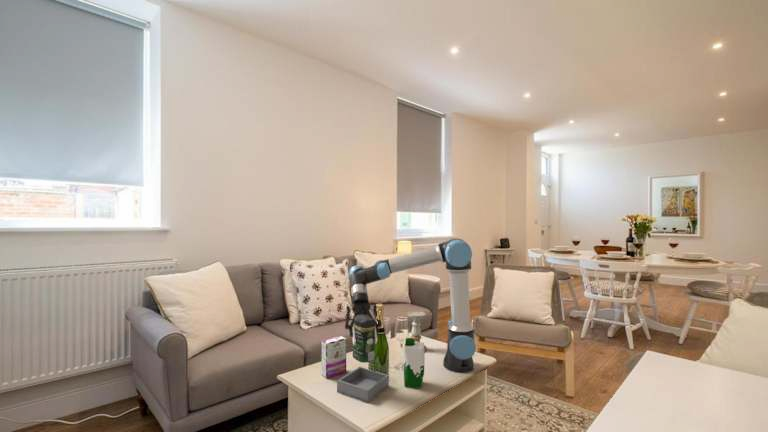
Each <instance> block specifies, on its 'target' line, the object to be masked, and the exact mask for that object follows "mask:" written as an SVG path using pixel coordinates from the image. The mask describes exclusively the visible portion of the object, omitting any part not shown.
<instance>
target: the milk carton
mask: <svg viewBox="0 0 768 432" xmlns="http://www.w3.org/2000/svg"><path fill="white" fill-rule="evenodd" d="M424 345H425V342H422V341H420V342H415V341H414V339H413V338H411V337H406V338H405V343H404V351H403V353H404V354H403V381H404V388H412V389H419V390H420V389H422V384H423V380H424V376H425V356H426V355H425V352H426V351H424Z"/></svg>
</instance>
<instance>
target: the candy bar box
mask: <svg viewBox="0 0 768 432" xmlns="http://www.w3.org/2000/svg"><path fill="white" fill-rule="evenodd" d="M346 373H347V338H346V337H344V336H343V335H339V336H335V337H331V338H328V339H322V340H321V376H322V377H323V378H325V379H330V378H332V377H333V378H334V377H336V376H340V375H342V374H346Z"/></svg>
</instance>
